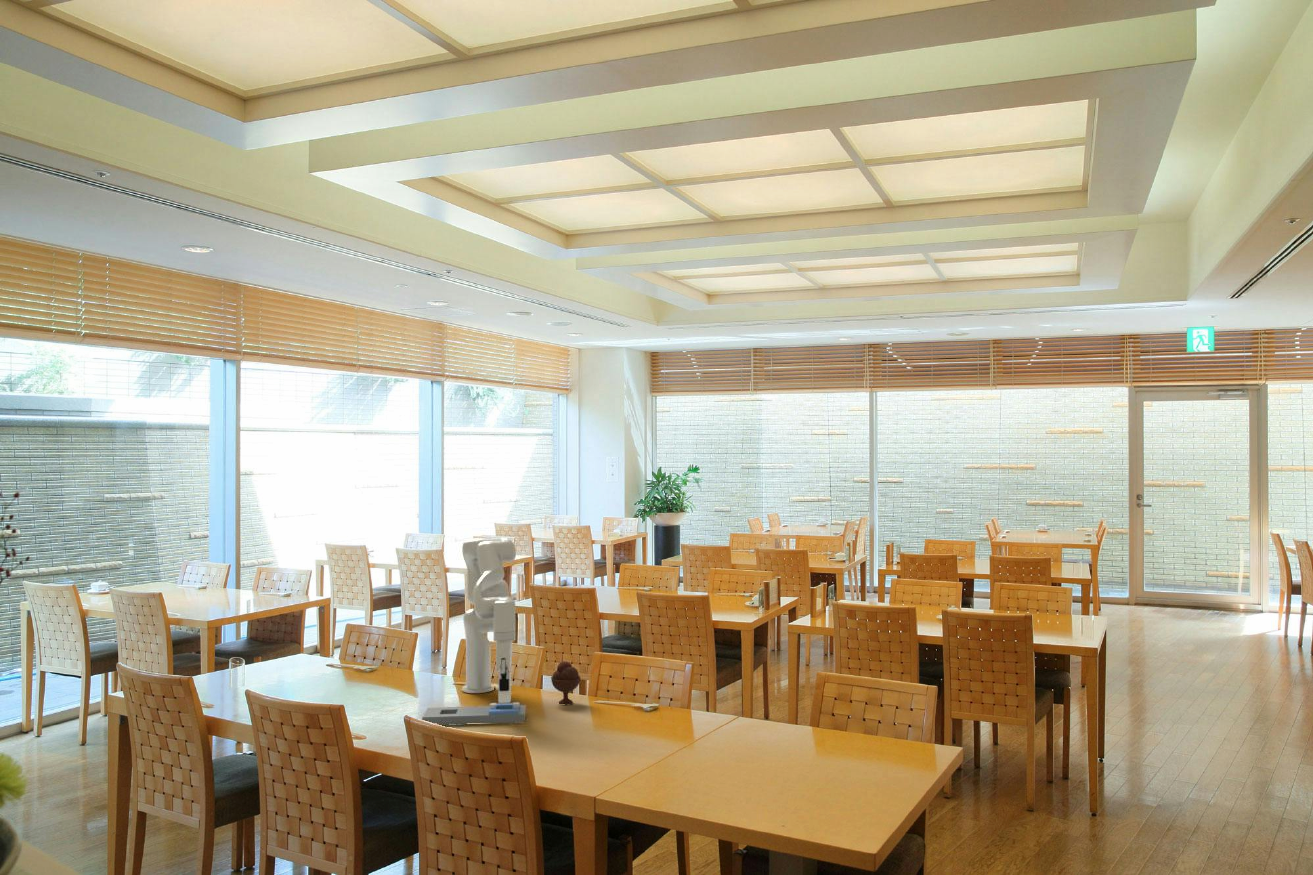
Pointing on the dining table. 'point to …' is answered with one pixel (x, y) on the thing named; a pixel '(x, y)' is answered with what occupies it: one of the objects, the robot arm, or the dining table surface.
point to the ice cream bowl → (565, 680)
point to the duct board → (477, 714)
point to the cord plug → (504, 695)
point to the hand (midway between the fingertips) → (504, 688)
